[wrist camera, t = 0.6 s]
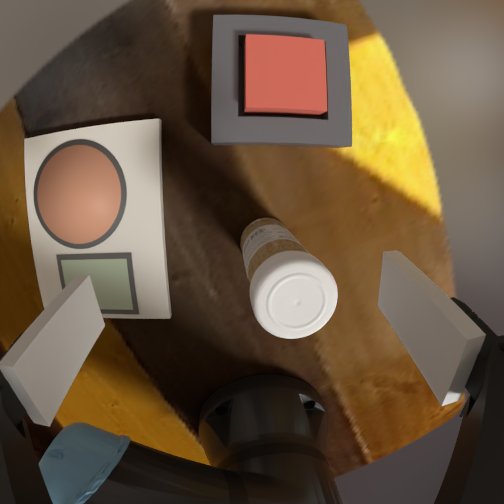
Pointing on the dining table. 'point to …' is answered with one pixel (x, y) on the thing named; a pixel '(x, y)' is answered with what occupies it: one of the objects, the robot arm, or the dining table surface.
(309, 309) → the spice jar
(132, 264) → the picture board
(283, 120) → the button housing
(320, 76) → the button
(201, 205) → the dining table surface
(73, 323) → the robot arm
